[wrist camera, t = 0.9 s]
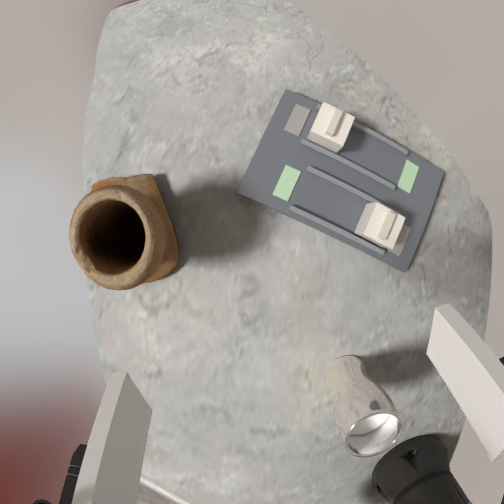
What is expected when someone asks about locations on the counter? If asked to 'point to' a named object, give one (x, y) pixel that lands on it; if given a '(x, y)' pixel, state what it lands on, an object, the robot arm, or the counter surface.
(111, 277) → the clay platform pipe
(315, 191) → the switch board
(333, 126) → the tab
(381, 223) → the tab
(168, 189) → the counter surface
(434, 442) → the robot arm
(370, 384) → the beer glass
